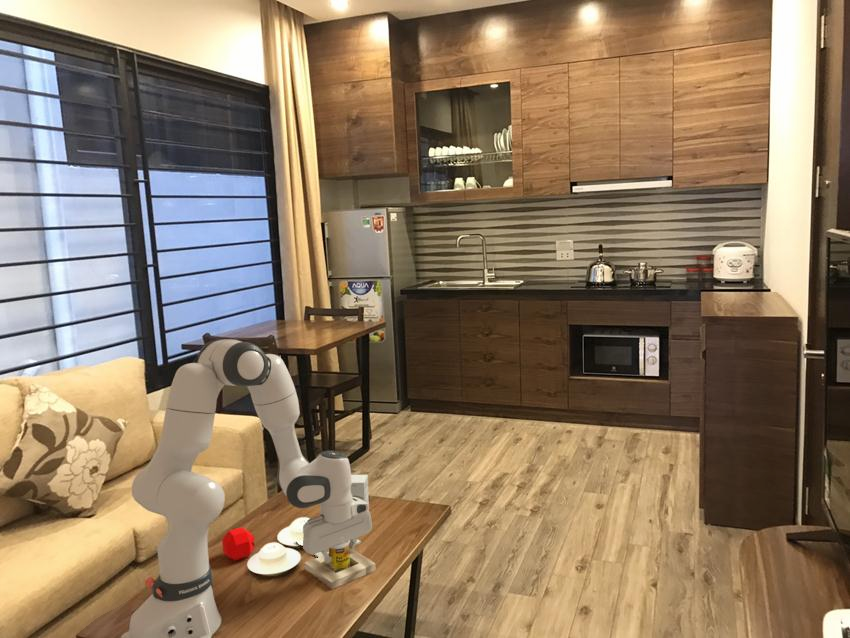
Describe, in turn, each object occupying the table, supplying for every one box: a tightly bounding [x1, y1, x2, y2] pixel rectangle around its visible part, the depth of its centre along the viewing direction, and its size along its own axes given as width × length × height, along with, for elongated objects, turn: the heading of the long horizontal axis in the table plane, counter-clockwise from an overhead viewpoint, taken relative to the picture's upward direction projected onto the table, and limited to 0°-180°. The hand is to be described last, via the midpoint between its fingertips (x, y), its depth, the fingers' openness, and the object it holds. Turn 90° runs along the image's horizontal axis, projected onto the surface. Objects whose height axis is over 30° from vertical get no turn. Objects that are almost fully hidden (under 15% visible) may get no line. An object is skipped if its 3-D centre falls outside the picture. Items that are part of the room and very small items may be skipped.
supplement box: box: [351, 474, 370, 512], centre depth 221 cm, size 7×7×13 cm
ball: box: [221, 526, 256, 562], centre depth 197 cm, size 8×8×8 cm
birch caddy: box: [304, 549, 377, 590], centre depth 187 cm, size 14×14×2 cm
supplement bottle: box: [329, 537, 351, 573], centre depth 187 cm, size 6×6×10 cm
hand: (339, 557), depth 187 cm, fingers closed on supplement bottle, 6 cm apart
